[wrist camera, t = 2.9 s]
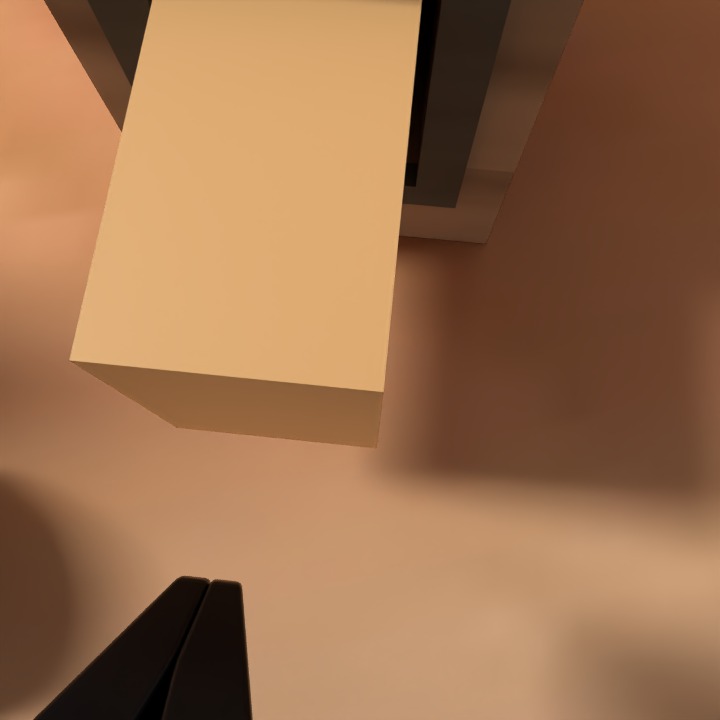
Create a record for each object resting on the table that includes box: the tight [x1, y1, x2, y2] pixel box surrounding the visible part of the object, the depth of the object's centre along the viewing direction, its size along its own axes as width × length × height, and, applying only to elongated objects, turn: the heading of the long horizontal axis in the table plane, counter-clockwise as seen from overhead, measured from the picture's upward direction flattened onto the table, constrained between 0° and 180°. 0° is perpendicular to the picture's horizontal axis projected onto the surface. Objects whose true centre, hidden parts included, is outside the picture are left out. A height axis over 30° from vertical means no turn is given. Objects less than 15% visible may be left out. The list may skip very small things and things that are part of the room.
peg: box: [69, 0, 422, 448], centre depth 12 cm, size 10×4×5 cm, turn 174°
